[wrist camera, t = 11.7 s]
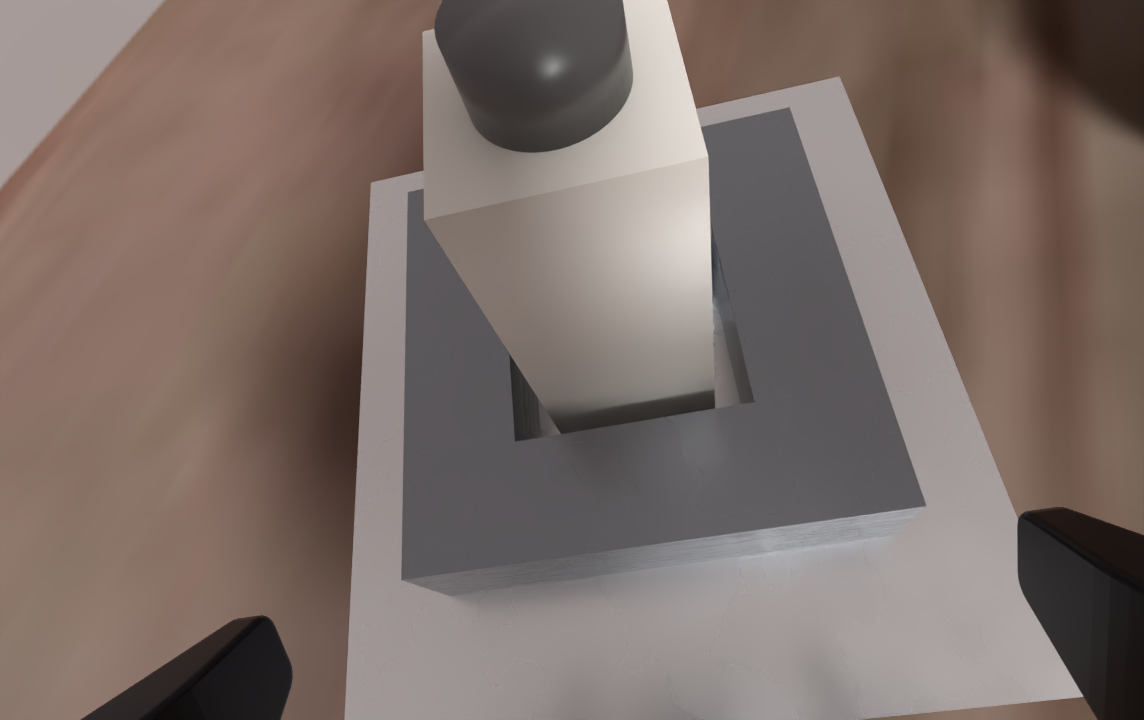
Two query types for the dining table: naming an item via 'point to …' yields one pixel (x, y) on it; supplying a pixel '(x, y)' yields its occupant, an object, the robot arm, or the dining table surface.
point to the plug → (575, 199)
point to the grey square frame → (692, 482)
